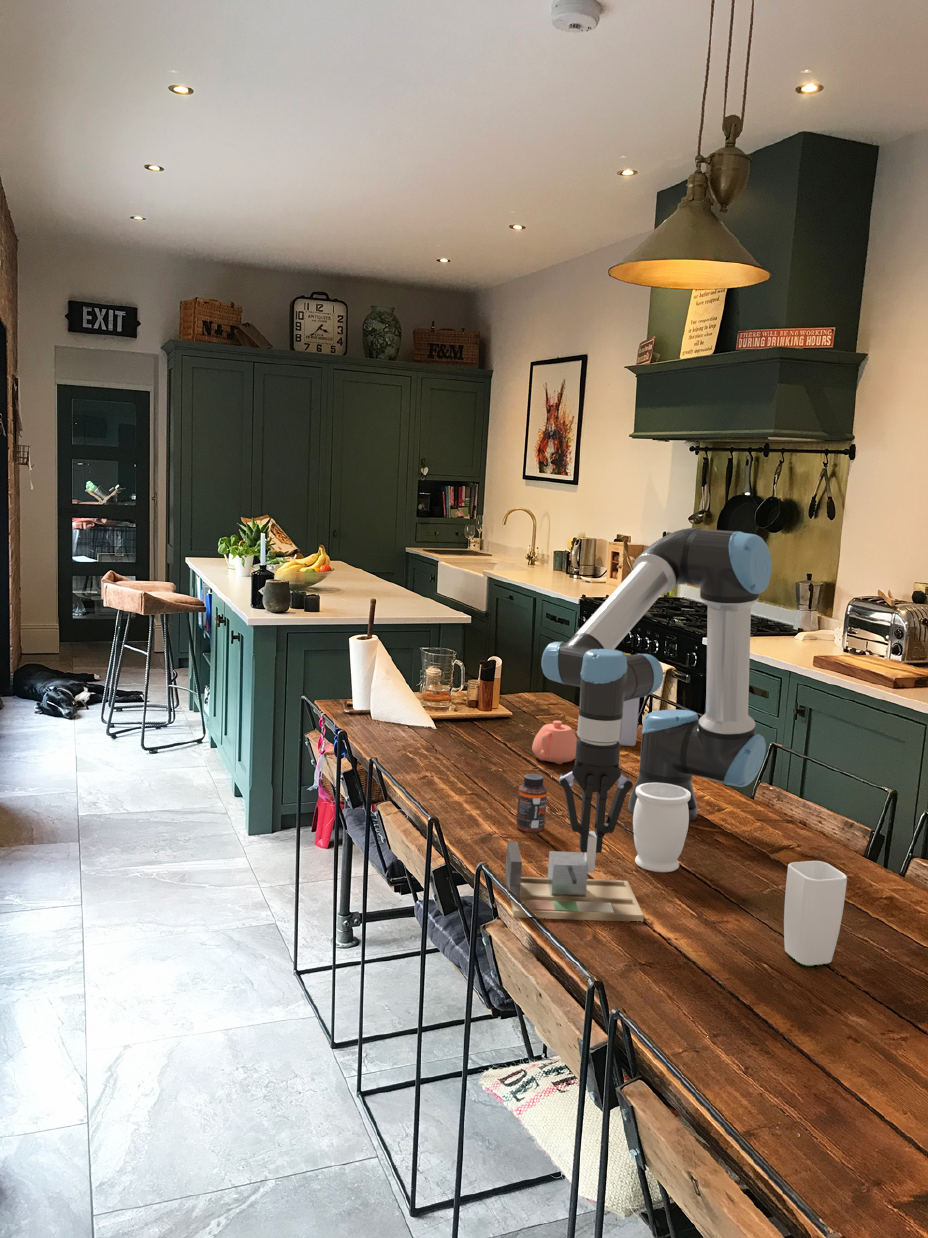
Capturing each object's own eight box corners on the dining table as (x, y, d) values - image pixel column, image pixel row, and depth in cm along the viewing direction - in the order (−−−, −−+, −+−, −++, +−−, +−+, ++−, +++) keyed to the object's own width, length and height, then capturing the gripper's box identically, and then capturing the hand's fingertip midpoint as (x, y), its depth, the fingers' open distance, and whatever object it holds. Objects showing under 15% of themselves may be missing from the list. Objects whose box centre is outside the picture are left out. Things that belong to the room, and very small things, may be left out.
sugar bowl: (586, 759, 261) (589, 721, 259) (562, 771, 249) (565, 731, 248) (545, 749, 267) (547, 712, 266) (519, 761, 256) (522, 722, 254)
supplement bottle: (542, 835, 205) (546, 782, 203) (514, 831, 206) (517, 779, 204) (546, 825, 211) (549, 773, 209) (518, 821, 212) (521, 770, 210)
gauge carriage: (580, 884, 178) (582, 852, 177) (590, 912, 167) (592, 878, 166) (547, 883, 178) (549, 851, 177) (554, 910, 167) (557, 877, 166)
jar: (651, 879, 186) (658, 802, 183) (618, 858, 195) (624, 785, 192) (695, 871, 191) (702, 796, 188) (661, 851, 200) (667, 779, 197)
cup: (801, 972, 153) (811, 881, 151) (774, 950, 160) (783, 862, 158) (841, 968, 155) (852, 878, 153) (813, 946, 162) (822, 859, 160)
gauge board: (627, 887, 181) (630, 844, 180) (643, 922, 168) (647, 876, 166) (504, 882, 180) (507, 839, 179) (510, 917, 167) (513, 871, 165)
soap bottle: (603, 736, 284) (609, 650, 280) (634, 739, 283) (641, 652, 279) (603, 744, 275) (609, 655, 271) (635, 747, 274) (643, 658, 270)
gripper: (631, 735, 175) (621, 862, 179) (558, 732, 175) (549, 859, 178) (640, 747, 168) (629, 879, 171) (564, 744, 167) (554, 876, 171)
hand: (588, 869), depth 175 cm, fingers closed
